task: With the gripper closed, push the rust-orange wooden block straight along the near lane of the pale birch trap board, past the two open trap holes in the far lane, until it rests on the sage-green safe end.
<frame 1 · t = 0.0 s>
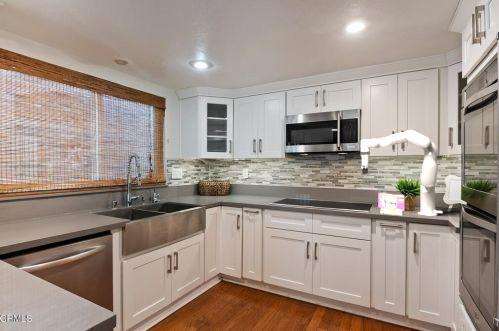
hand: (365, 173, 230), 31 cm above the countertop, tool pointing down, fingers open, 9 cm apart
gum box: (390, 209, 232), on the countertop
trap board: (391, 212, 215), on the countertop
block: (391, 209, 212), point 3 cm above the countertop, touching trap board
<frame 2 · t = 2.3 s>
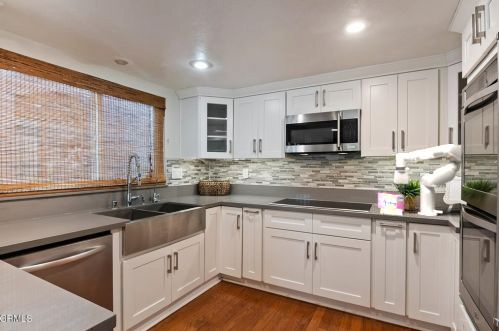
hand: (401, 192, 208), 17 cm above the countertop, tool pointing down, fingers closed
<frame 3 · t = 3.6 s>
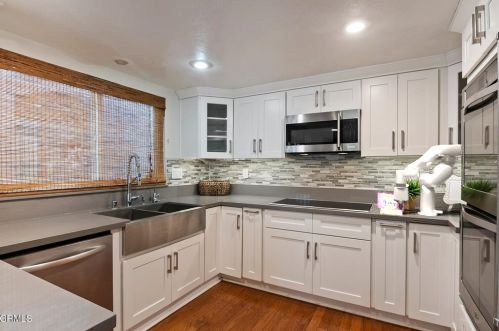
hand: (400, 208, 209), 4 cm above the countertop, tool pointing down, fingers closed
nothing on the countertop moved.
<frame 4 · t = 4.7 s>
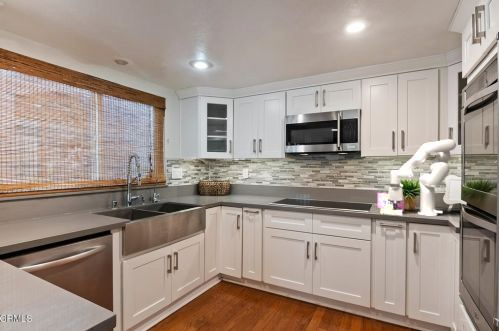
hand: (395, 209, 211), 4 cm above the countertop, tool pointing down, fingers closed
block: (389, 209, 213), point 3 cm above the countertop, touching gripper
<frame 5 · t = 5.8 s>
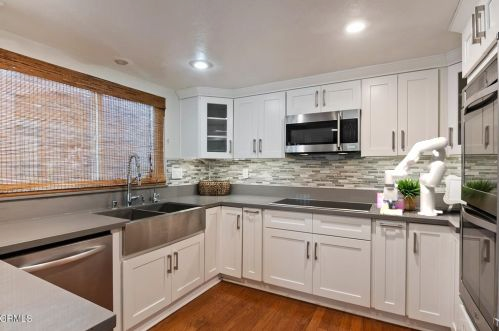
hand: (390, 208, 212), 4 cm above the countertop, tool pointing down, fingers closed
block: (385, 209, 214), point 3 cm above the countertop, touching gripper, trap board
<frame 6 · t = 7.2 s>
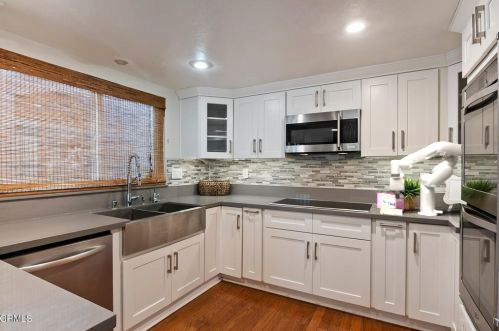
hand: (397, 198, 210), 12 cm above the countertop, tool pointing down, fingers closed
block: (385, 209, 214), point 3 cm above the countertop, touching trap board
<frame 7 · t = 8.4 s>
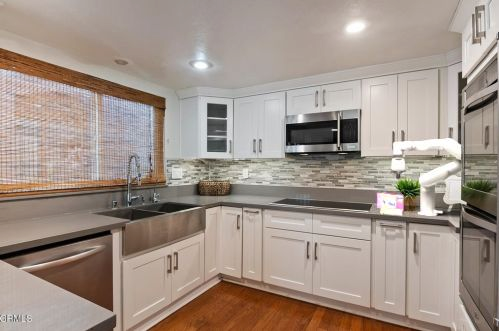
hand: (398, 179, 220), 27 cm above the countertop, tool pointing down, fingers closed
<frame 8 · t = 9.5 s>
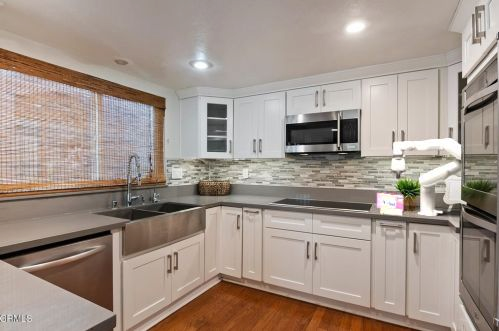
hand: (398, 178, 220), 27 cm above the countertop, tool pointing down, fingers closed
at the end: block 0.6 cm from the target spot on the trap board, point 3.0 cm above the trap board's base; block tilted 0°; block moved 4.4 cm from its start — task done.
